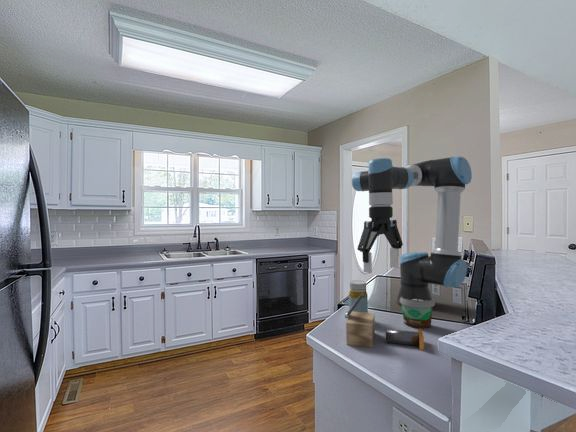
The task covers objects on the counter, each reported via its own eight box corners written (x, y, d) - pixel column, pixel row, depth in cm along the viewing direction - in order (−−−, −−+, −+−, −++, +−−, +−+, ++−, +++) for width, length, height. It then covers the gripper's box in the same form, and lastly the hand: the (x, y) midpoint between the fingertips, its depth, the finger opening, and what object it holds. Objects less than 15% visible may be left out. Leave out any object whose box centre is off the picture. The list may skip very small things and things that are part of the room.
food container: (399, 327, 115) (399, 300, 115) (399, 321, 121) (399, 295, 121) (436, 331, 111) (436, 303, 111) (435, 325, 117) (434, 298, 117)
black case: (422, 341, 103) (421, 329, 103) (423, 350, 97) (423, 337, 97) (386, 337, 107) (386, 325, 107) (385, 345, 101) (385, 333, 100)
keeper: (365, 293, 108) (362, 291, 108) (363, 296, 103) (360, 294, 104) (349, 314, 110) (346, 312, 110) (347, 319, 105) (344, 316, 106)
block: (374, 333, 111) (374, 313, 111) (372, 347, 99) (371, 325, 99) (351, 330, 113) (351, 311, 113) (346, 344, 102) (346, 322, 102)
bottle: (368, 324, 119) (367, 284, 119) (349, 323, 121) (348, 284, 120) (367, 317, 126) (366, 280, 126) (349, 317, 127) (348, 280, 127)
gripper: (394, 205, 115) (395, 263, 116) (345, 206, 101) (346, 273, 101) (413, 205, 109) (413, 266, 110) (363, 206, 95) (364, 276, 95)
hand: (381, 269), depth 105 cm, fingers open, 13 cm apart
